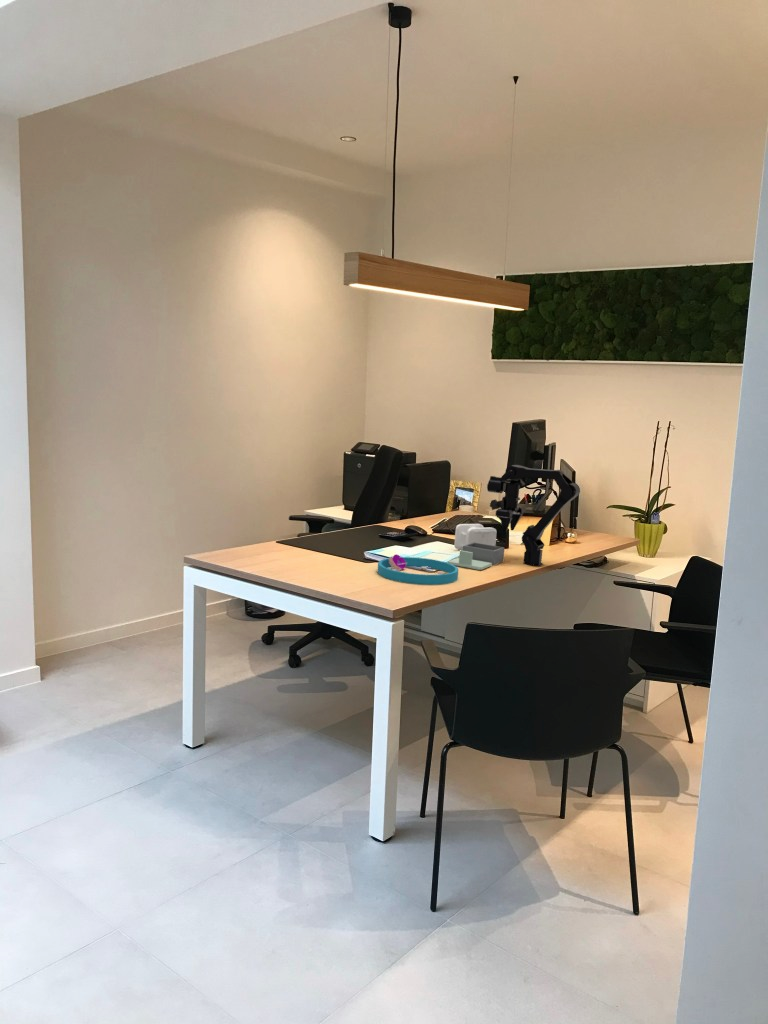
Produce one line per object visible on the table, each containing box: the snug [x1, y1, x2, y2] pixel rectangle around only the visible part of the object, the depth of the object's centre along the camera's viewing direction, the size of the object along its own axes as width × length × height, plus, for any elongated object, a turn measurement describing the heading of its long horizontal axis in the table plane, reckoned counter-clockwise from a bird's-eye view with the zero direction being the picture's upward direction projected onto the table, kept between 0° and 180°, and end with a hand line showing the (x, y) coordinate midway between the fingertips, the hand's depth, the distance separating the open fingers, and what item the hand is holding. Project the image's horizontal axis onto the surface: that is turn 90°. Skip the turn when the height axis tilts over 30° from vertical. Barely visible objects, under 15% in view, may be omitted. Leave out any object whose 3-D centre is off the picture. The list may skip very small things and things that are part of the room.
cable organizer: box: [453, 523, 497, 551], centre depth 359 cm, size 15×11×12 cm
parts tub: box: [462, 542, 505, 566], centre depth 341 cm, size 14×11×6 cm
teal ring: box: [377, 554, 459, 586], centre depth 307 cm, size 30×30×6 cm
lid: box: [447, 550, 492, 571], centre depth 330 cm, size 14×11×7 cm
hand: (508, 531), depth 347 cm, fingers open, 9 cm apart
